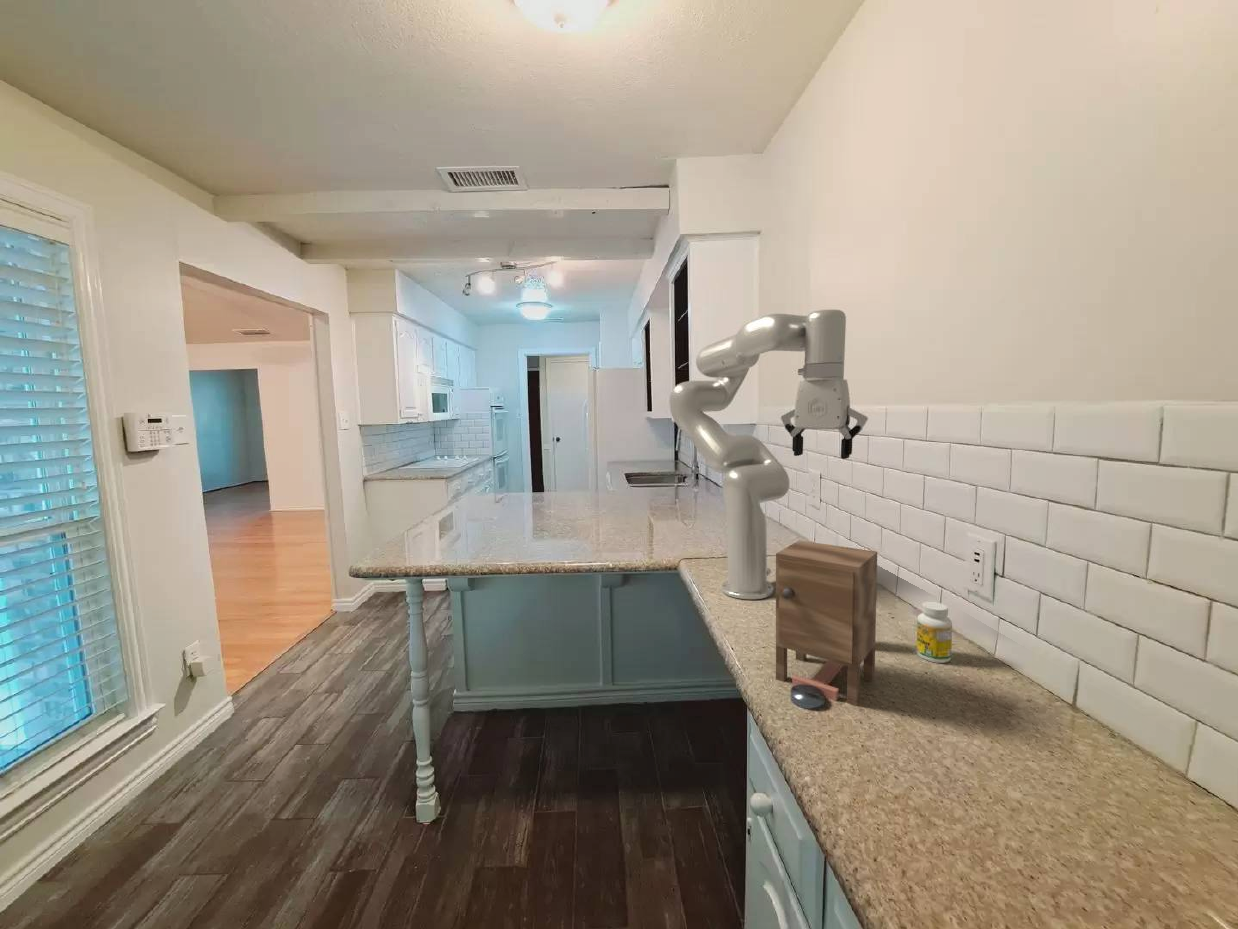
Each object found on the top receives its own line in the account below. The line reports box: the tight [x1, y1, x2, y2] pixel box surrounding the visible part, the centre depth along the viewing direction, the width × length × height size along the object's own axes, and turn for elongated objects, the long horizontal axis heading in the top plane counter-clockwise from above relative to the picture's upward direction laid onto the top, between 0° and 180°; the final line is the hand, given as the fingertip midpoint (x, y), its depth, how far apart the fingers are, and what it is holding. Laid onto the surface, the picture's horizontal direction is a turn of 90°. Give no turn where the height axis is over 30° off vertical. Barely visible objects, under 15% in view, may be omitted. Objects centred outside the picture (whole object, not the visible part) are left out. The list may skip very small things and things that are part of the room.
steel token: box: [790, 684, 826, 711], centre depth 81 cm, size 5×5×2 cm
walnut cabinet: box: [775, 540, 878, 706], centre depth 85 cm, size 12×13×22 cm
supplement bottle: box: [916, 601, 953, 664], centre depth 93 cm, size 5×5×10 cm
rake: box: [791, 660, 845, 702], centre depth 91 cm, size 23×7×10 cm, turn 139°
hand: (821, 456), depth 107 cm, fingers open, 9 cm apart
